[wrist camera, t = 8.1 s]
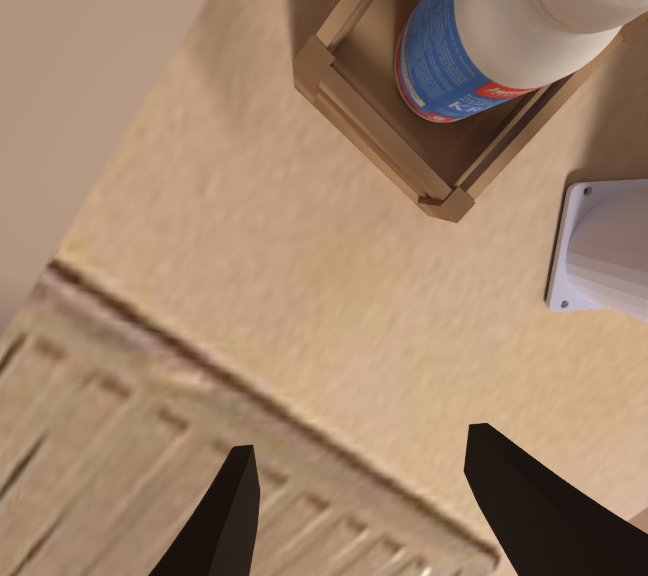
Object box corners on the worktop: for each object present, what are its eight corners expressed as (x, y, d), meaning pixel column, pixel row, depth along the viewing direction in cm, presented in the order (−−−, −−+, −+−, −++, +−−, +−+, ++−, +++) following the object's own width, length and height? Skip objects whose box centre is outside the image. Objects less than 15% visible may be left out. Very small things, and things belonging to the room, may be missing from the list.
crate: (451, -130, 14) (500, -234, 10) (578, 49, 16) (651, 13, 13) (294, 87, 16) (292, 61, 13) (428, 215, 18) (456, 223, 15)
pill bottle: (417, 144, 17) (562, 95, 7) (373, 35, 15) (492, -206, 6) (513, 90, 16) (799, -37, 7) (479, -29, 14) (795, -406, 5)
